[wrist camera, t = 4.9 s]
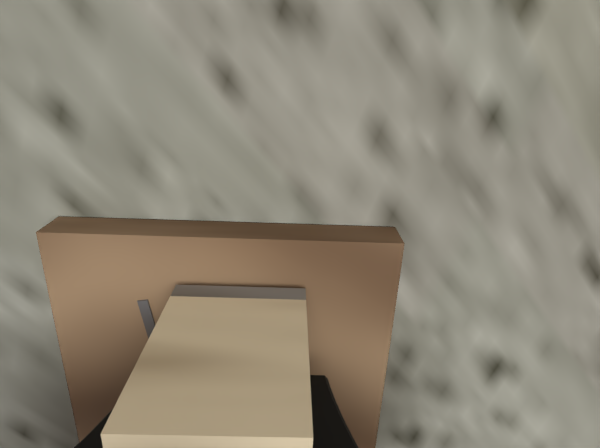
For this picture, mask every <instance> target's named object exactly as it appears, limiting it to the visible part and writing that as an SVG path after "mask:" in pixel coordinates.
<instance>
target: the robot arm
mask: <svg viewBox="0 0 600 448" xmlns="http://www.w3.org/2000/svg"><path fill="white" fill-rule="evenodd" d="M310 384H311V403H312V422H313V448H358V446H357V444H356V442H355V440H354V438H353V436H352V434H351V432H350V430H349V428H348V427H347V425H346V423H345V420H344V418H343V416H342V414H341V412H340V410H339V407H338V405H337V403H336V400H335V398H334V395H333V393H332V390H331V387H330V384H329V381H328V378H327V377H326V376H325V375H310ZM112 410H113V409H112ZM112 410H111V411H110V412H109V413H108V414H107V415H106V416H105V417H104V418H103V419H102V420H101V421H100V422H99V424H98V425H97V426H96V427H95V428H94V429H93V430H92V431H91V432H90V433H89V434H88V435H87V436H86V437H85V438H84V439H83V440H82V441H81V442H80V443H79V444H77V445H76V446H75V447H74V448H103V445H102V440H101V432H102V430H103V428H104V426H105V424H106V422H107V420H108V418H109V416H110V414H111V412H112Z"/></svg>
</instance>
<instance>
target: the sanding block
mask: <svg viewBox="0 0 600 448" xmlns="http://www.w3.org/2000/svg"><path fill="white" fill-rule="evenodd" d="M101 440H102V445H103V448H313V422H312V403H311V384H310V365H309V346H308V327H307V307H306V288H276V287H241V286H207V285H176V286H175V288H174V290H173V292H172V294H171V296H170V297H169V299H168V301H167V303H166V305H165V307H164V309H163V311H162V313H161V315H160V317H159V319H158V321H157V323H156V325H155V327H154V329H153V331H152V333H151V335H150V337H149V339H148V341H147V343H146V345H145V347H144V349H143V351H142V353H141V355H140V357H139V359H138V361H137V363H136V365H135V367H134V369H133V371H132V373H131V375H130V377H129V379H128V381H127V383H126V385H125V386H124V388H123V390H122V392H121V394H120V396H119V398H118V400H117V402H116V404H115V406H114V408H113V410H112V412H111V414H110V416H109V418H108V420H107V422H106V424H105V426H104V428H103V430H102V432H101Z"/></svg>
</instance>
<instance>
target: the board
mask: <svg viewBox="0 0 600 448" xmlns="http://www.w3.org/2000/svg"><path fill="white" fill-rule="evenodd" d="M36 235H37V240H38V244H39V249H40V254H41V259H42V264H43V269H44V273H45V278H46V283H47V288H48V293H49V298H50V303H51V307H52V312H53V317H54V322H55V327H56V332H57V336H58V341H59V346H60V351H61V356H62V361H63V366H64V370H65V375H66V380H67V385H68V390H69V395H70V399H71V404H72V409H73V414H74V419H75V424H76V429H77V433H78V438H79V443H80V442H81V441H82V440H83V439H84V438H85V437H86V436H87V435H88V434H89V433H90V432H91V431H92V430H93V429H94V428H95V427H96V426H97V425H98V424H99V422H100V421H101V420H102V419H103V418H104V417H105V416H106V415H107V414H108V413H109V412H110V411H111V410H112V409H113V408H114V406H115V404H116V402H117V400H118V398H119V396H120V394H121V392H122V390H123V388H124V386H125V385H126V383H127V381H128V379H129V377H130V375H131V373H132V371H133V369H134V367H135V365H136V363H137V361H138V359H139V357H140V355H141V353H142V351H143V349H144V347H145V345H146V343H147V341H148V339H149V337H150V335H151V333H152V331H153V329H154V327H155V325H156V323H157V321H158V319H159V317H160V315H161V313H162V311H163V309H164V307H165V305H166V303H167V301H168V299H169V297H170V296H171V294H172V292H173V290H174V288H175V286H176V285H207V286H241V287H276V288H306V307H307V327H308V346H309V365H310V375H325V376H326V377H327V378H328V381H329V384H330V387H331V390H332V393H333V395H334V398H335V400H336V403H337V405H338V407H339V410H340V412H341V414H342V416H343V418H344V420H345V423H346V425H347V427H348V428H349V430H350V432H351V434H352V436H353V438H354V440H355V442H356V444H357V446H358V448H375V445H376V438H377V431H378V424H379V417H380V410H381V403H382V396H383V389H384V382H385V375H386V368H387V361H388V354H389V347H390V341H391V334H392V327H393V320H394V313H395V306H396V299H397V292H398V285H399V278H400V271H401V264H402V257H403V250H404V242H403V240H402V239H401V237H400V235H399V233H398V232H397V230H396V228H395V227H376V226H344V225H313V224H281V223H249V222H218V221H186V220H154V219H123V218H91V217H57V218H56V219H54V220H53V221H52V222H50V223H49V224H47V225H46V226H44V227H43V228H42V229H40V230H39V231H37V232H36Z"/></svg>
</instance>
